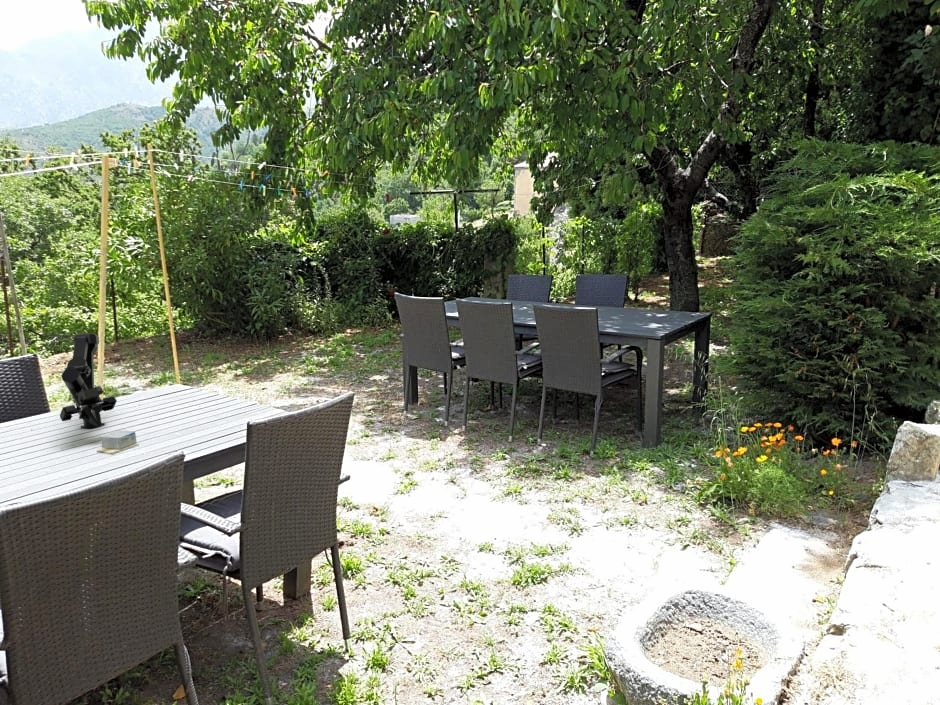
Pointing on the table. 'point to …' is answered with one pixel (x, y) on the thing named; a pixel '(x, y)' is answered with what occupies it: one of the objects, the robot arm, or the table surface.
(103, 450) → the pad
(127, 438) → the medicine box
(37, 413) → the table surface
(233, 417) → the table surface
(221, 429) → the table surface
